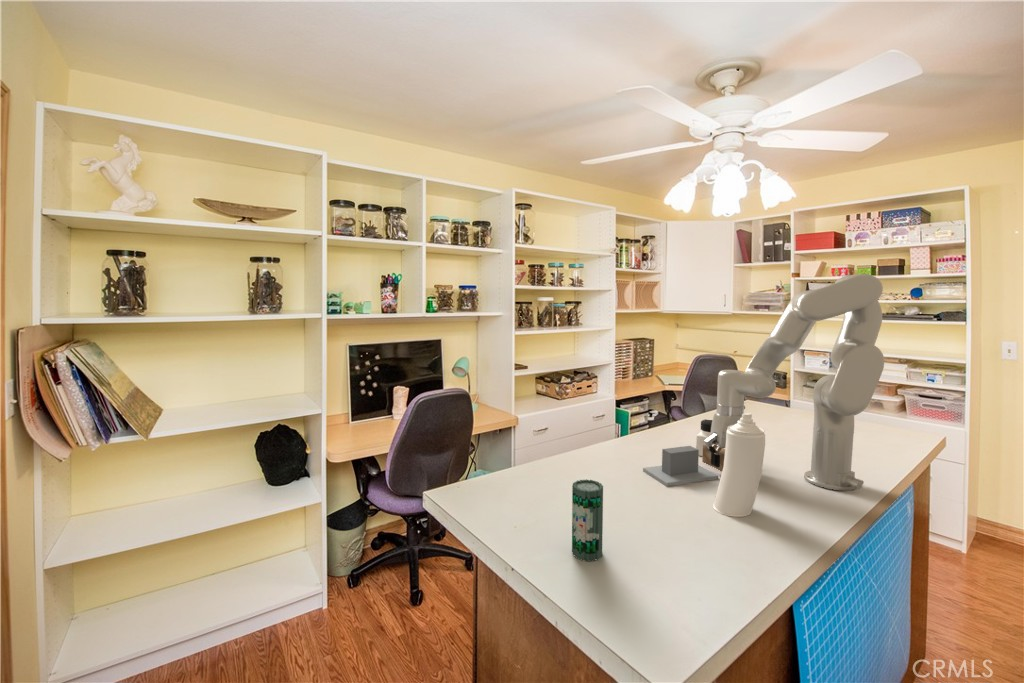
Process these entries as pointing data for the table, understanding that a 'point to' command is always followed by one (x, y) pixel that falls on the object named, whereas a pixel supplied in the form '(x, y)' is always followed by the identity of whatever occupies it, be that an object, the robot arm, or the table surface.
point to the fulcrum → (680, 467)
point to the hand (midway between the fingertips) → (727, 464)
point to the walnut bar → (707, 457)
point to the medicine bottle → (703, 435)
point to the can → (587, 519)
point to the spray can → (741, 468)
